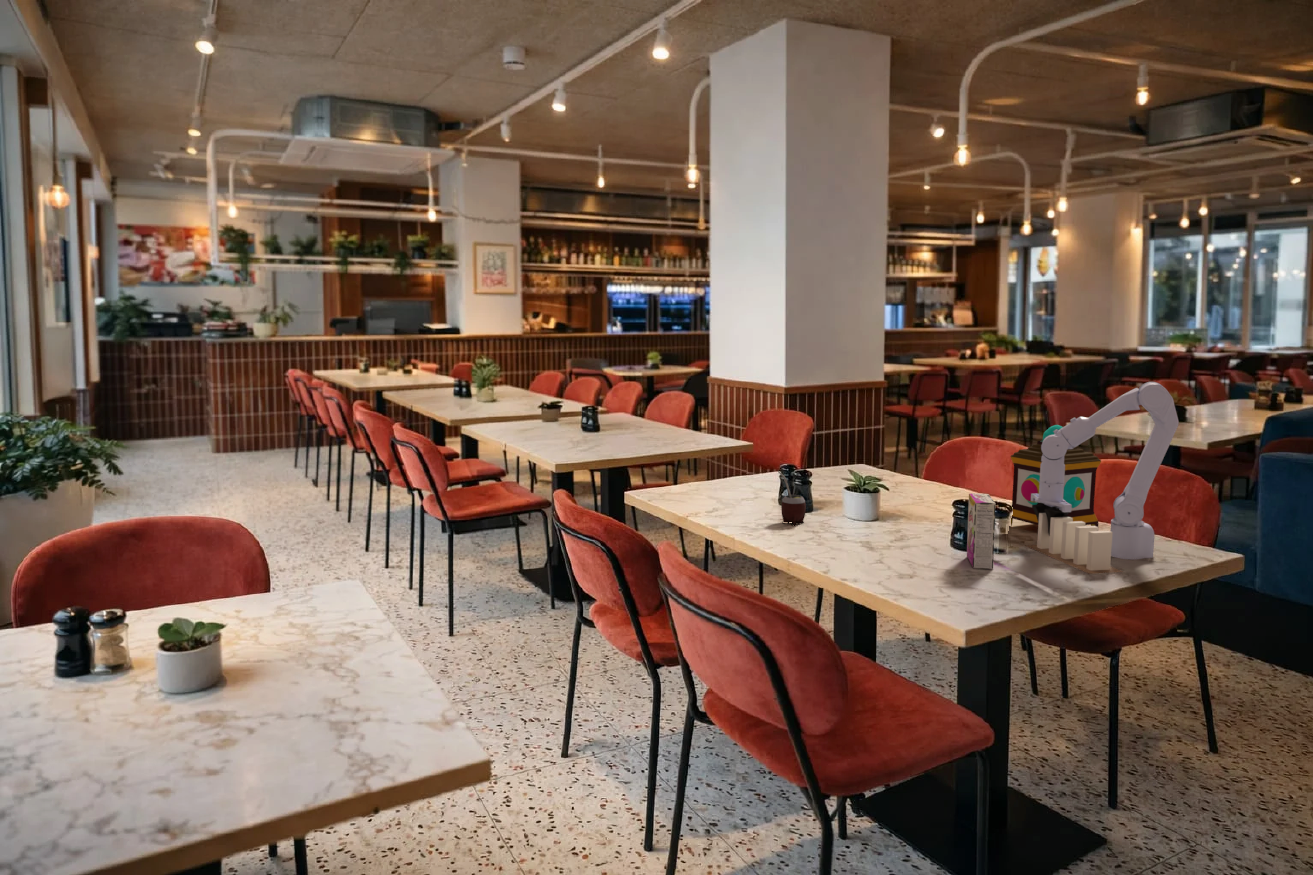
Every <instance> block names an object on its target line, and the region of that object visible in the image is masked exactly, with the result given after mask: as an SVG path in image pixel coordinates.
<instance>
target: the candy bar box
mask: <svg viewBox="0 0 1313 875" xmlns="http://www.w3.org/2000/svg"><path fill="white" fill-rule="evenodd" d="M996 505H997V504H996V502H995V501H994V500H993V498H992V497H991V496H990V494H989V493H975V492H974V493H973V492H972V493H968V506H967V507H968V511H967V514H968V515H967V540H966V542H967V543H966V558H967V560H968V561H969V563H970V565H971V568H972V569H975V570H994V557H995V535H996V534H995V530H996V529H995V528H996V527H995V526H996Z"/></svg>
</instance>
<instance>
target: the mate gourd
mask: <svg viewBox="0 0 1313 875" xmlns="http://www.w3.org/2000/svg"><path fill="white" fill-rule="evenodd" d="M777 473H778V474H779V475H781V477H782V478H783V480H784V481H783V482H784V483H785V487H786V489H787V494H788V495H784V497H783V498H782V499H781V504H780V508H781V518H782V520H783V521H782V522H792V523H793V525H796V526H797V524H796V523H804V524H805V521H804V520H805V517H806V509H807V504H806V500H805V498H804V497H803V496H801V495H799V494H791V491H790V486H789V484H788V479H787V478H786V476H785V475H784V474H783V473H782V472H781V471H779V470H778V471H777ZM793 525H792V526H793Z"/></svg>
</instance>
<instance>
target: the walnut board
mask: <svg viewBox="0 0 1313 875" xmlns="http://www.w3.org/2000/svg"><path fill="white" fill-rule="evenodd" d="M1025 547H1027V548H1030V549H1031V550H1034V551H1037V552H1039V553H1041V554H1043V555H1045V556H1048V557H1050V558H1053V559H1055V560H1057V561H1059V562H1061V563H1064V564H1066V565H1067V566H1070V567H1073V568H1075V569H1077V570H1078V571H1081V572H1084V573H1086V574H1088V575H1092V574H1095V575H1096V574H1111V573H1112V574H1113V573H1124V571H1123V570H1121V569H1118V568H1116V567H1114V566H1111V565H1110V570H1092V571H1090V570H1088V569H1086V566H1087V564H1083V565H1077V564H1074V563H1073V559H1063V558H1061V554H1051V553H1049V549H1040V548H1038V547H1037V544H1030V545H1029V544H1028V545H1027V544H1026V545H1025Z"/></svg>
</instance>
